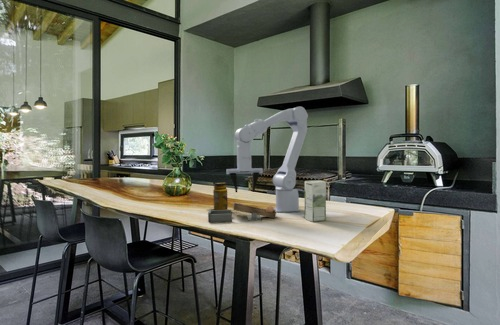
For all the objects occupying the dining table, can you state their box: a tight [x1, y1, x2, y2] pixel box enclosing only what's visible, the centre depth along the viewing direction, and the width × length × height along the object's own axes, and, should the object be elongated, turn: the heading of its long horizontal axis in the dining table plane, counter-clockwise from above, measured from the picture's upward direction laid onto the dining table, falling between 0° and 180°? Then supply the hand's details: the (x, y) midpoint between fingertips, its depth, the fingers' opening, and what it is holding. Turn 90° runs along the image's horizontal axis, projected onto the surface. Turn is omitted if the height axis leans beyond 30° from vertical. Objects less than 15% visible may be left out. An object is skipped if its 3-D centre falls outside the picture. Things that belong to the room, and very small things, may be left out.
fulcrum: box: [246, 212, 263, 221], centre depth 122 cm, size 5×8×3 cm, turn 4°
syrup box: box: [304, 179, 327, 223], centre depth 116 cm, size 6×6×14 cm
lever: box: [232, 202, 277, 219], centre depth 125 cm, size 16×12×2 cm
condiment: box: [206, 181, 230, 212], centre depth 138 cm, size 7×8×12 cm
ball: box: [265, 205, 275, 213], centre depth 122 cm, size 3×3×3 cm
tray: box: [207, 208, 232, 223], centre depth 121 cm, size 8×8×4 cm
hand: (244, 191), depth 127 cm, fingers open, 6 cm apart
